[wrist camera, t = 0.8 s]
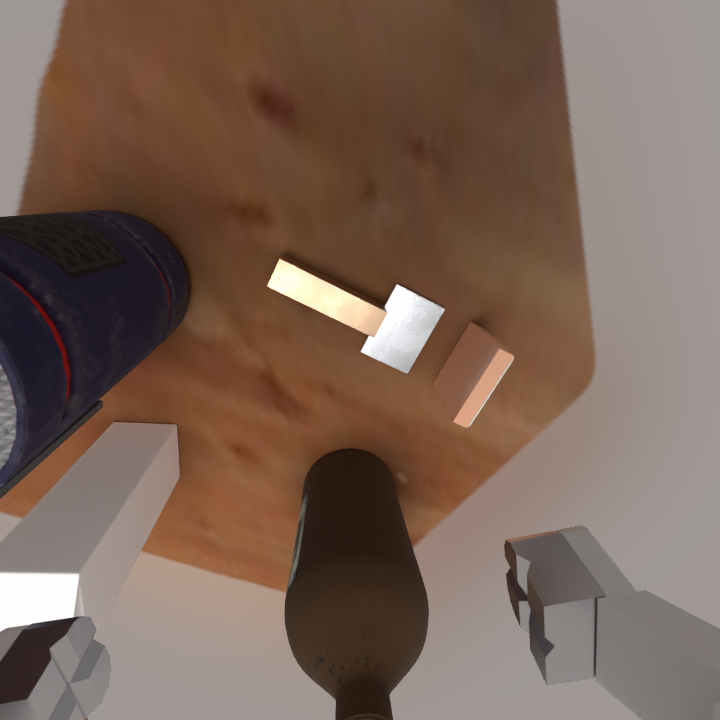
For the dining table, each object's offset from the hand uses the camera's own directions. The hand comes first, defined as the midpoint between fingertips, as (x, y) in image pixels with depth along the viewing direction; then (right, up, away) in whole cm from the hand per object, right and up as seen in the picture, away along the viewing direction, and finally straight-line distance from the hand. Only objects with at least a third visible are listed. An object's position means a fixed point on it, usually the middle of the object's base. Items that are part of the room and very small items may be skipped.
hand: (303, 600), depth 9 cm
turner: (+1, +9, +33) cm, 35 cm away
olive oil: (0, -9, +40) cm, 41 cm away
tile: (+10, +5, +35) cm, 37 cm away
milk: (-20, -4, +37) cm, 42 cm away
